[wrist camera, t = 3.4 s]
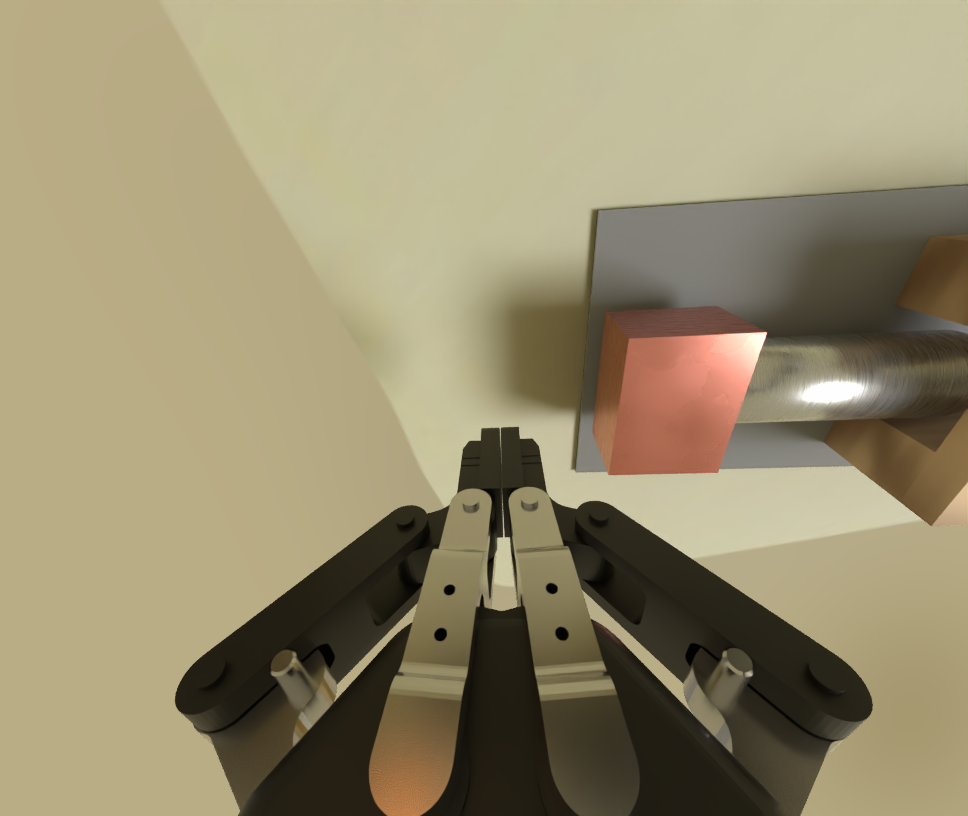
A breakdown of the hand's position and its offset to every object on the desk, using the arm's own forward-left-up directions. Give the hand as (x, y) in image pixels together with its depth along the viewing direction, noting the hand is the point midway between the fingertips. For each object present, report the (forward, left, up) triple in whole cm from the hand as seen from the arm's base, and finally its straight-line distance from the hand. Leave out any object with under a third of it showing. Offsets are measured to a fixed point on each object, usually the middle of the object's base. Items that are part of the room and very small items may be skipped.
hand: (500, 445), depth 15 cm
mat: (0, +16, -7) cm, 17 cm away
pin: (0, +13, -6) cm, 14 cm away
